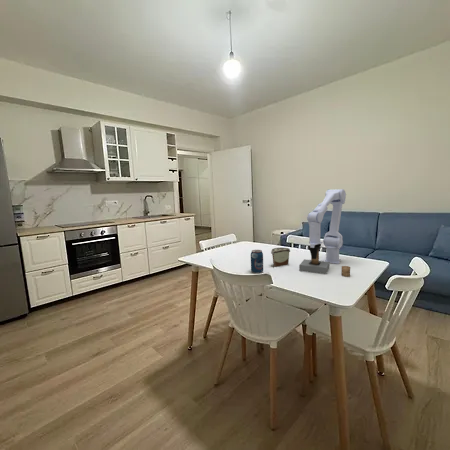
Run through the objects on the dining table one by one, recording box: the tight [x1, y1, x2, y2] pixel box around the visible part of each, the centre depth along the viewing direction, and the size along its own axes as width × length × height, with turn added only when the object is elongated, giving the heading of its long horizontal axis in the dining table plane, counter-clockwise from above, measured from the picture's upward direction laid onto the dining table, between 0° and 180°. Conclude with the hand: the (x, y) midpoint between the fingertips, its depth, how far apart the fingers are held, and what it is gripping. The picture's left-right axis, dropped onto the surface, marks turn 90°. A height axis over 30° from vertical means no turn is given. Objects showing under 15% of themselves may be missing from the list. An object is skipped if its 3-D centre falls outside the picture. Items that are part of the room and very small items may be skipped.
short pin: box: [340, 265, 351, 278], centre depth 126 cm, size 4×4×4 cm
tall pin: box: [310, 249, 320, 264], centre depth 137 cm, size 4×4×8 cm
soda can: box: [250, 249, 264, 274], centre depth 138 cm, size 7×7×12 cm
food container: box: [270, 247, 291, 268], centre depth 149 cm, size 12×6×10 cm, turn 111°
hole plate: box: [298, 259, 331, 275], centre depth 138 cm, size 12×14×4 cm
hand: (314, 257), depth 137 cm, fingers closed on tall pin, 4 cm apart
